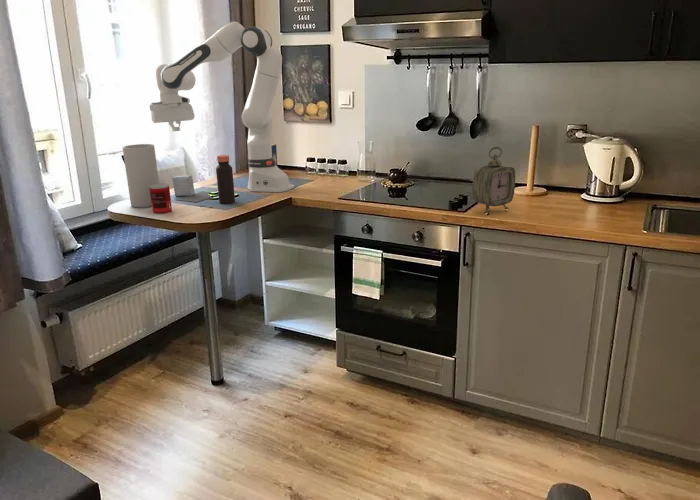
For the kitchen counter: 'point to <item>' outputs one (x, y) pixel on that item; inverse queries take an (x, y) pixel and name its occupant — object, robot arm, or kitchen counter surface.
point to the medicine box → (183, 185)
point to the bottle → (225, 180)
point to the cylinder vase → (140, 173)
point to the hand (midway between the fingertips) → (176, 131)
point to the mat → (196, 197)
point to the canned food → (160, 198)
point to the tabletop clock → (494, 183)
